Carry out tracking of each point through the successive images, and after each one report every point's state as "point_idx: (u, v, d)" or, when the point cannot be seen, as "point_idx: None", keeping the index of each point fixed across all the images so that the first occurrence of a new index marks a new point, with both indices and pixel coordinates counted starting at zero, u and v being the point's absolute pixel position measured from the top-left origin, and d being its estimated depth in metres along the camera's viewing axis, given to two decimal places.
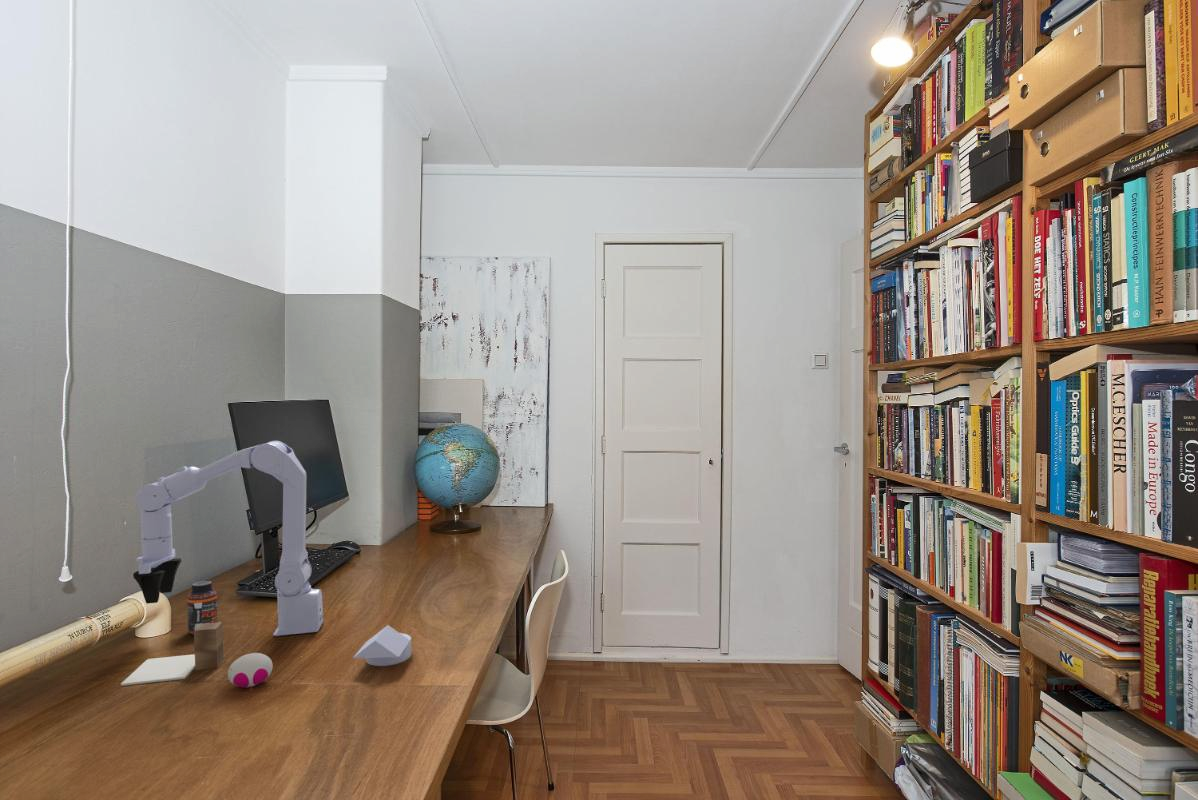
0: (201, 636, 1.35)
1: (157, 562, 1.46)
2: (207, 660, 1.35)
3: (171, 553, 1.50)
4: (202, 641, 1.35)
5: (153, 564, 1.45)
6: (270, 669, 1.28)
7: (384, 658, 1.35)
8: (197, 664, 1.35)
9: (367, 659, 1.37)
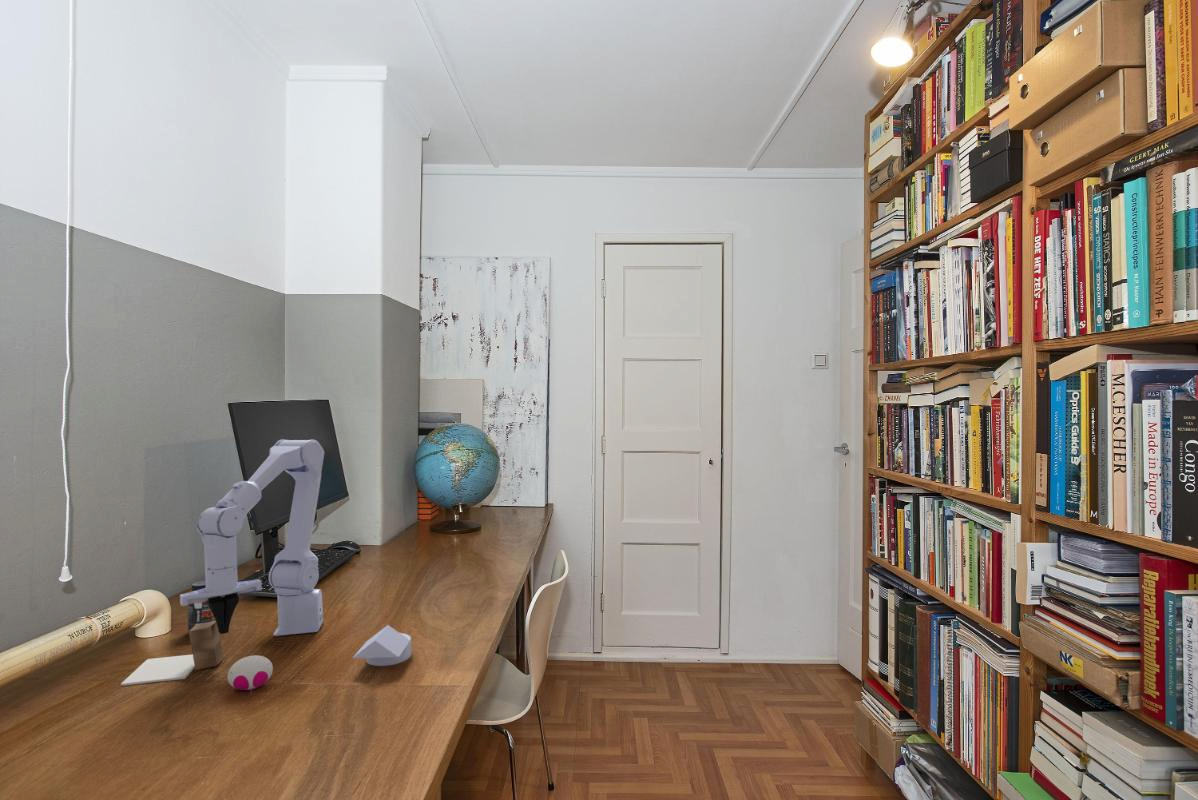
0: (197, 636, 1.35)
1: (198, 595, 1.33)
2: (206, 659, 1.35)
3: (224, 588, 1.35)
4: (198, 641, 1.35)
5: (191, 597, 1.33)
6: (270, 672, 1.27)
7: (384, 658, 1.35)
8: (196, 664, 1.35)
9: (367, 659, 1.37)
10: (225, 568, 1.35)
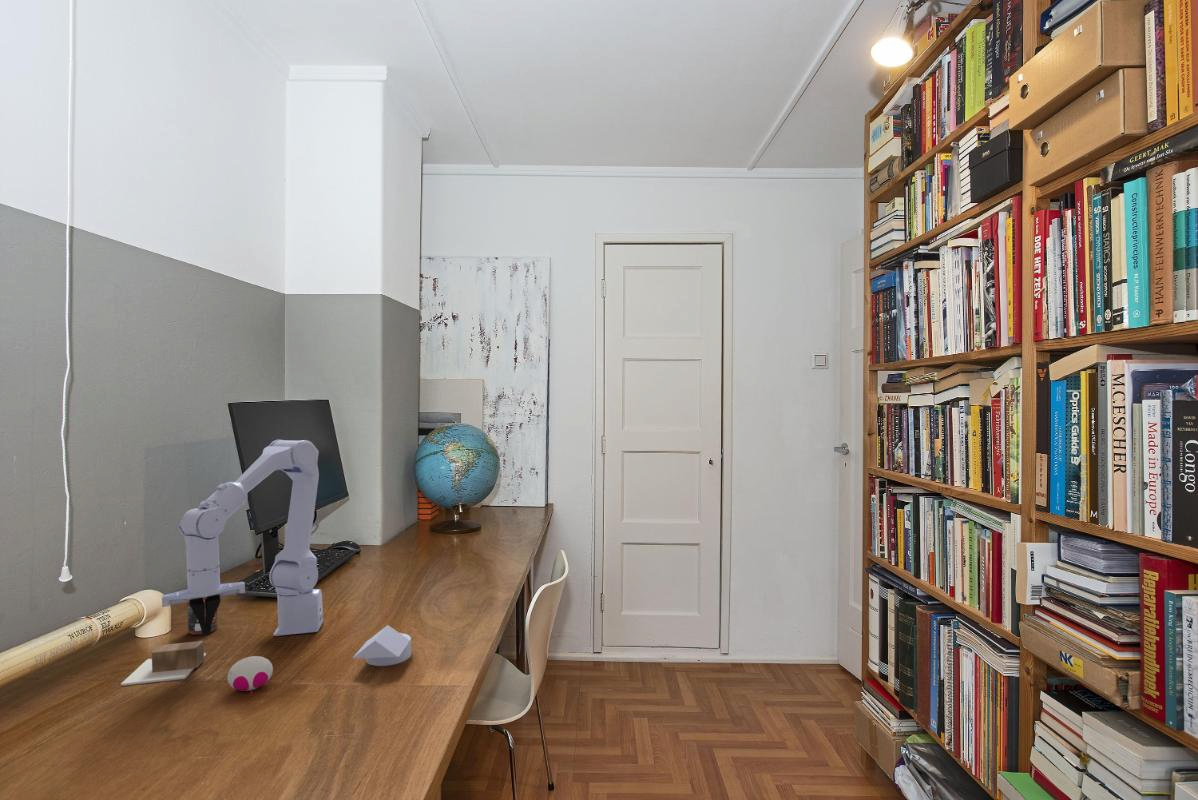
0: (159, 665, 1.33)
1: (178, 597, 1.33)
2: (187, 657, 1.34)
3: (204, 590, 1.34)
4: (165, 663, 1.34)
5: (171, 598, 1.33)
6: (270, 672, 1.26)
7: (384, 658, 1.35)
8: (191, 666, 1.35)
9: (367, 659, 1.37)
10: (205, 570, 1.35)
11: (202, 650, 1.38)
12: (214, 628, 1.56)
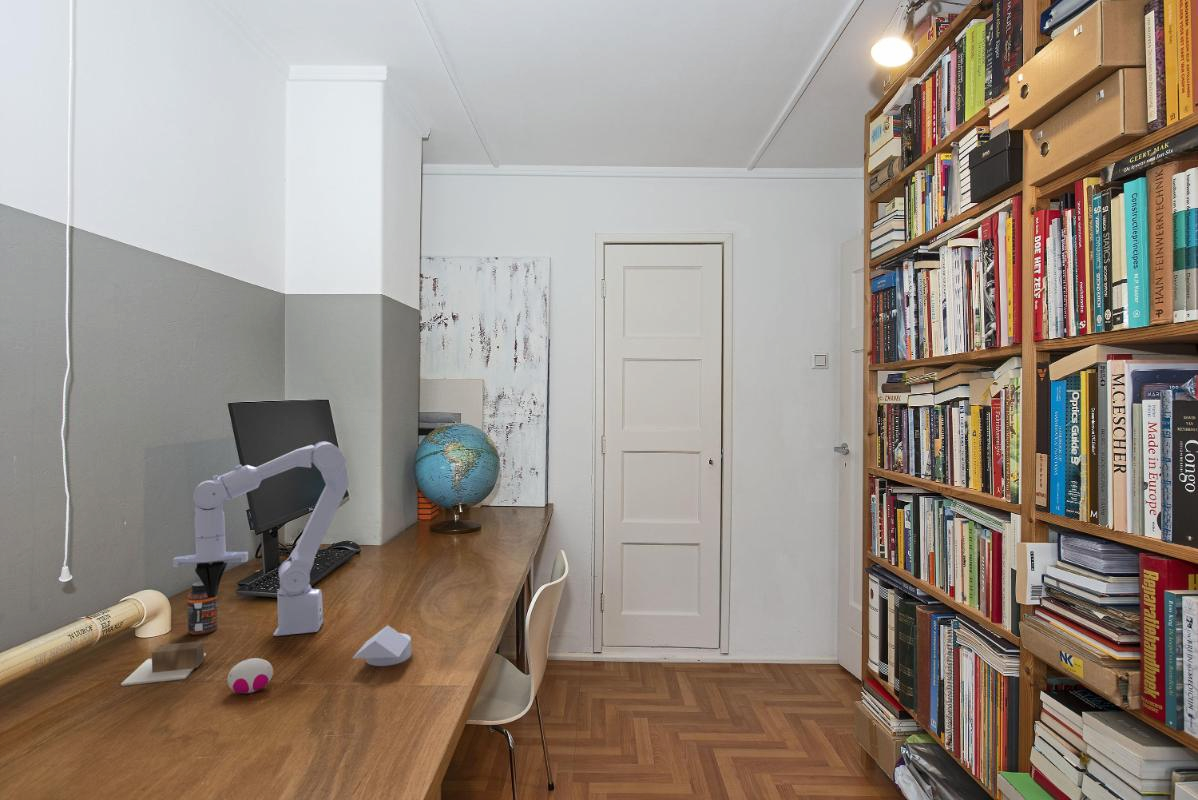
0: (159, 665, 1.33)
1: (185, 560, 1.46)
2: (187, 657, 1.34)
3: (205, 556, 1.46)
4: (165, 663, 1.34)
5: (180, 560, 1.46)
6: (270, 674, 1.25)
7: (384, 658, 1.35)
8: (191, 666, 1.35)
9: (367, 659, 1.37)
10: (207, 537, 1.46)
11: (202, 650, 1.38)
12: (214, 628, 1.56)
